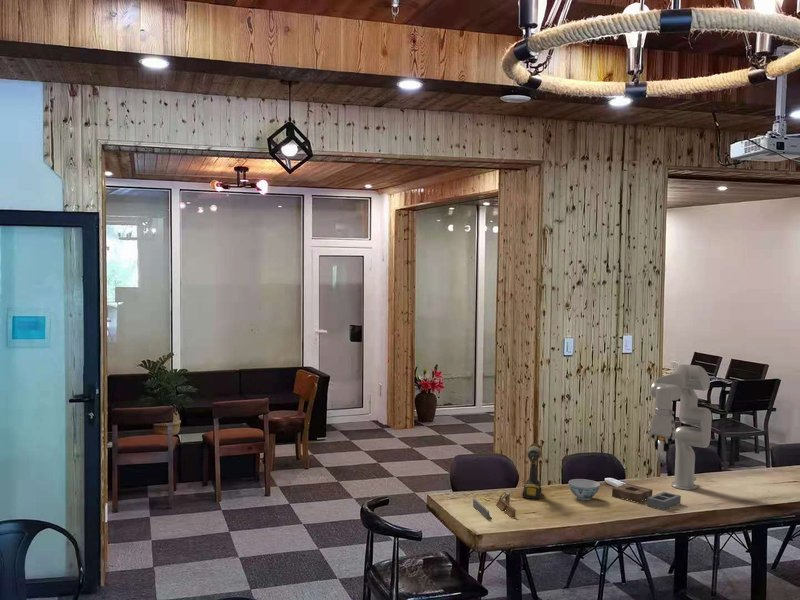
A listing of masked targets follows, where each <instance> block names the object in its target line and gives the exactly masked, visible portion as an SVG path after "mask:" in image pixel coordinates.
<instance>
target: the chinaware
mask: <svg viewBox="0 0 800 600" xmlns="http://www.w3.org/2000/svg"><path fill="white" fill-rule="evenodd" d="M568 486H569V489H570V491H571V493H572V494H573V495H574V496H575V497H576V499H577V500H579V499H580V501H584V500H587V501H590V500H591V499H592V498H594V496H596V495H597V493H598V492H599V489H600V487H601V484H600V483H599V482H598V481H595V480H591V479H584V478H574V479H569V481H568Z"/></svg>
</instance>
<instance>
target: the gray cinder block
mask: <svg viewBox="0 0 800 600" xmlns="http://www.w3.org/2000/svg"><path fill="white" fill-rule="evenodd" d="M681 500H682V497H681V495H679V494H675V493H671V492H668V491H667V492H666V491H662V492H659V493H657V494H654V495H653V494H652V496H651V497H648V498H647V501H646V507H649V506H651V507H650V508H653V507H655V508H654V509H657V508H659V509H658V510H661V509H662V510H661V511H666V510H668V508H669V509H671V508H674V507H676V506H678V504H679V505H681ZM673 506H674V507H673ZM670 507H671V508H670Z"/></svg>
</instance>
